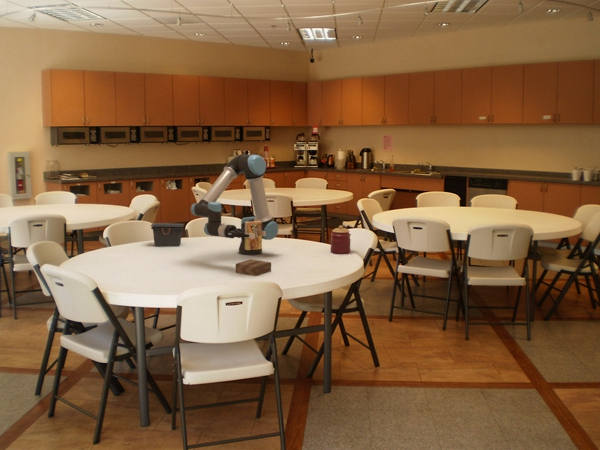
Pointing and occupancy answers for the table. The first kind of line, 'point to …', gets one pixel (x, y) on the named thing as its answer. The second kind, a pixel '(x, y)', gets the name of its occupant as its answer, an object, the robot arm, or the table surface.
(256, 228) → the candy box
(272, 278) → the table surface
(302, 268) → the table surface
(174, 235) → the storage bin
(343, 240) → the canister
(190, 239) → the table surface
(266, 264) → the walnut base
